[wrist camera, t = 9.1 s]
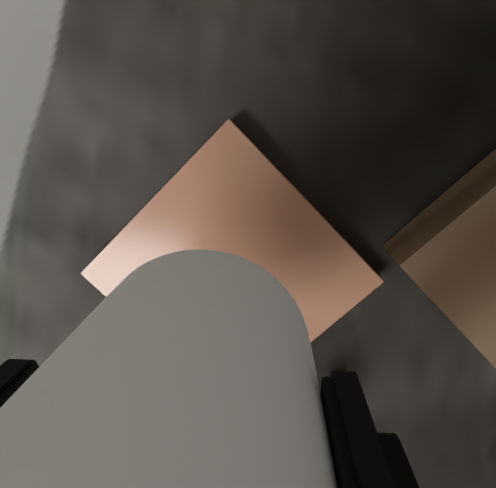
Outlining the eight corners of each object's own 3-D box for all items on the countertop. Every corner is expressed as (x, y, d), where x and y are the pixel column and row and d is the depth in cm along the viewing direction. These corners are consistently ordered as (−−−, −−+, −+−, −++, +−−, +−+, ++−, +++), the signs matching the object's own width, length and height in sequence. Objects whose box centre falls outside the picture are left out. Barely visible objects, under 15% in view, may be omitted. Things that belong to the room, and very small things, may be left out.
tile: (378, 274, 20) (383, 281, 19) (231, 397, 23) (229, 409, 22) (230, 119, 19) (228, 118, 18) (89, 266, 21) (80, 273, 20)
